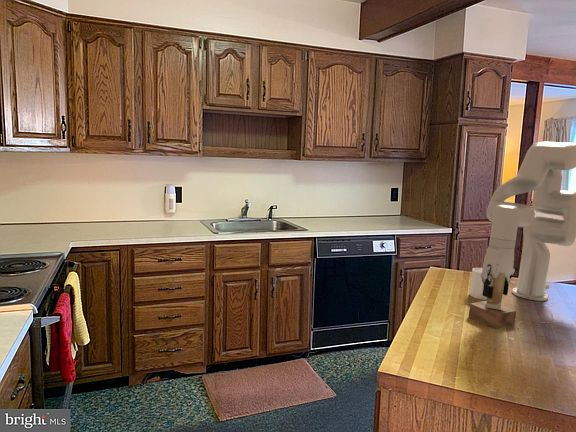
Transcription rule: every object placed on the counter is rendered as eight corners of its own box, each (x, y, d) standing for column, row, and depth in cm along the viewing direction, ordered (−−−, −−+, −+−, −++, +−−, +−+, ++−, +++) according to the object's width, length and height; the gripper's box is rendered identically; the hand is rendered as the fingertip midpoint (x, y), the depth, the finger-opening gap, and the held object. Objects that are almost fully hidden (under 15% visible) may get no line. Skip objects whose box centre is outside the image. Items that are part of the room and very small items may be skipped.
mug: (492, 305, 161) (496, 278, 160) (468, 300, 165) (471, 274, 163) (492, 295, 172) (495, 270, 170) (469, 291, 176) (472, 266, 174)
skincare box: (486, 301, 150) (491, 267, 148) (500, 304, 148) (505, 269, 146) (485, 307, 144) (490, 272, 142) (500, 310, 142) (505, 274, 140)
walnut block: (488, 313, 154) (490, 300, 153) (514, 325, 145) (516, 310, 144) (468, 317, 149) (470, 303, 148) (493, 329, 140) (495, 314, 139)
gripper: (508, 238, 150) (500, 288, 153) (474, 242, 141) (467, 295, 144) (529, 243, 144) (521, 295, 147) (495, 248, 135) (488, 303, 138)
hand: (494, 295), depth 146 cm, fingers closed on skincare box, 7 cm apart
